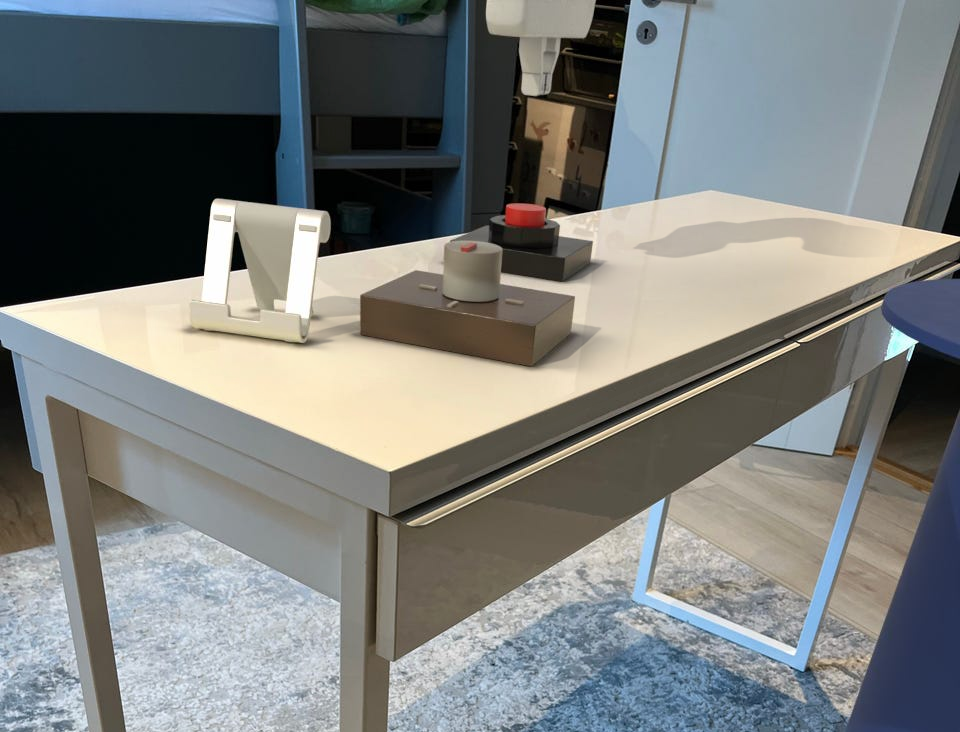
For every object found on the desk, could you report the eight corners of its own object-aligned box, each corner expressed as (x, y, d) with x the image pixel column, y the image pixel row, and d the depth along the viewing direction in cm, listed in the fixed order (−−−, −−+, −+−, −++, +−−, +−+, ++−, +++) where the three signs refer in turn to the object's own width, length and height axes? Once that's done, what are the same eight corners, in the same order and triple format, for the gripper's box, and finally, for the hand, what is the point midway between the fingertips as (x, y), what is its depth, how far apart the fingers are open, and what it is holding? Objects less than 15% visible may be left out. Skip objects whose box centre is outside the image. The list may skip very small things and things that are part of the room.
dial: (453, 284, 76) (456, 233, 74) (506, 292, 75) (510, 241, 73) (433, 296, 72) (436, 243, 70) (488, 305, 71) (492, 251, 69)
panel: (571, 334, 78) (575, 293, 76) (531, 366, 70) (535, 322, 68) (414, 306, 81) (415, 267, 80) (359, 334, 73) (359, 292, 72)
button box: (590, 263, 100) (595, 222, 98) (562, 281, 93) (567, 237, 90) (484, 246, 104) (487, 207, 101) (448, 263, 96) (450, 220, 94)
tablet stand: (190, 331, 71) (179, 210, 66) (236, 306, 78) (228, 194, 73) (299, 346, 70) (295, 224, 65) (337, 320, 76) (335, 206, 72)
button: (549, 225, 97) (551, 206, 96) (537, 231, 94) (538, 212, 93) (512, 220, 98) (514, 201, 97) (499, 226, 95) (500, 207, 94)
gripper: (549, -103, 73) (531, 103, 81) (616, -76, 89) (596, 93, 97) (473, -106, 75) (463, 96, 82) (552, -80, 91) (537, 87, 99)
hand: (535, 94), depth 90 cm, fingers closed
